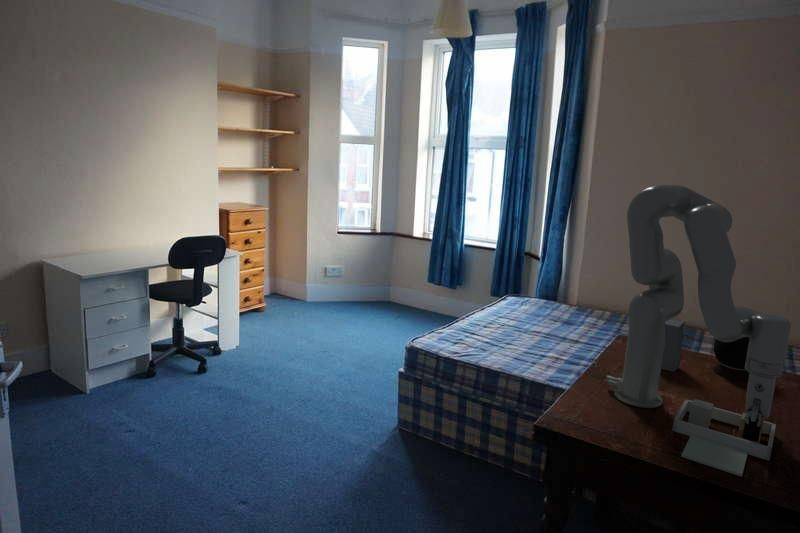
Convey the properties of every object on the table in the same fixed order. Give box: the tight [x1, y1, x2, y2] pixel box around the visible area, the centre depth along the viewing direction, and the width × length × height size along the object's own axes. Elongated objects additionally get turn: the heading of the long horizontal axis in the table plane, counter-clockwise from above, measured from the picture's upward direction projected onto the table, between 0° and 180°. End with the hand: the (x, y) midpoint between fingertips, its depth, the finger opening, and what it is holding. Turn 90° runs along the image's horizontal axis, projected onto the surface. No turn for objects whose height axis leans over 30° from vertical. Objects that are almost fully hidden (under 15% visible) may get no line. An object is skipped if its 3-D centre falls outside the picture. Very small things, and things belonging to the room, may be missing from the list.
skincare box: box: [661, 319, 685, 373], centre depth 179 cm, size 8×7×16 cm
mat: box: [680, 435, 749, 477], centre depth 127 cm, size 12×12×1 cm
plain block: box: [687, 398, 714, 429], centre depth 141 cm, size 4×4×6 cm
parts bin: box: [671, 398, 777, 462], centre depth 138 cm, size 21×16×3 cm
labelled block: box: [737, 411, 765, 444], centre depth 134 cm, size 4×4×6 cm
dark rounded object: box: [712, 337, 750, 382], centre depth 176 cm, size 13×13×15 cm
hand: (751, 432), depth 134 cm, fingers open, 9 cm apart
